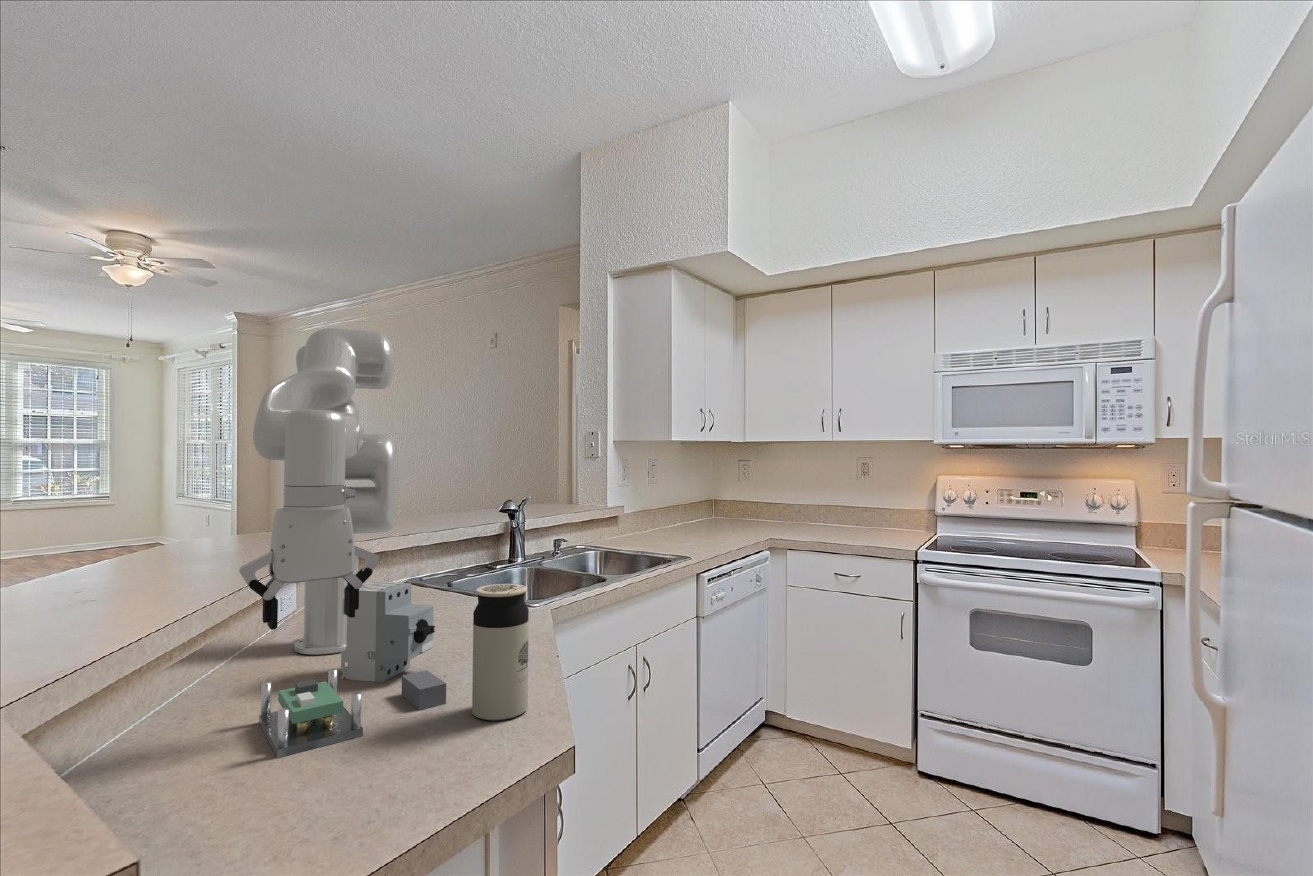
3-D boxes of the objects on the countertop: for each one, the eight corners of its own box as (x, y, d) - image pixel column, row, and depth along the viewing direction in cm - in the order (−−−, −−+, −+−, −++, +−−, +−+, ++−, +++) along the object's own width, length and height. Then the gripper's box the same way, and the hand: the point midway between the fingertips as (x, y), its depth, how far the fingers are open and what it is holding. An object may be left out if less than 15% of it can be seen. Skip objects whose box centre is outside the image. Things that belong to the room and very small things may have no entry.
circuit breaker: (416, 684, 105) (418, 593, 105) (340, 678, 108) (342, 589, 108) (441, 670, 112) (442, 584, 113) (369, 664, 115) (370, 581, 115)
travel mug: (460, 717, 91) (462, 591, 92) (494, 698, 99) (495, 581, 100) (507, 725, 88) (508, 595, 89) (537, 705, 96) (539, 585, 97)
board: (278, 701, 89) (278, 683, 89) (325, 691, 93) (325, 674, 93) (292, 724, 82) (293, 704, 82) (343, 712, 86) (343, 693, 86)
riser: (401, 694, 100) (401, 675, 100) (426, 689, 103) (427, 670, 103) (419, 710, 94) (419, 689, 94) (446, 703, 97) (446, 683, 97)
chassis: (258, 722, 89) (259, 683, 90) (336, 705, 96) (336, 668, 96) (277, 758, 79) (278, 713, 79) (362, 735, 85) (363, 694, 85)
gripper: (371, 494, 97) (369, 606, 97) (237, 499, 86) (234, 626, 86) (387, 497, 91) (385, 617, 91) (245, 503, 80) (242, 639, 80)
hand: (312, 621), depth 88 cm, fingers open, 9 cm apart
